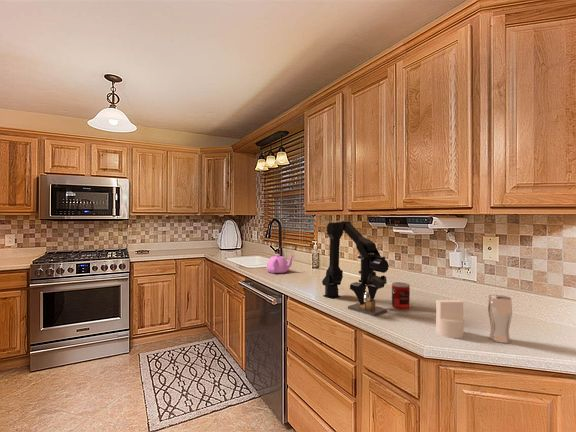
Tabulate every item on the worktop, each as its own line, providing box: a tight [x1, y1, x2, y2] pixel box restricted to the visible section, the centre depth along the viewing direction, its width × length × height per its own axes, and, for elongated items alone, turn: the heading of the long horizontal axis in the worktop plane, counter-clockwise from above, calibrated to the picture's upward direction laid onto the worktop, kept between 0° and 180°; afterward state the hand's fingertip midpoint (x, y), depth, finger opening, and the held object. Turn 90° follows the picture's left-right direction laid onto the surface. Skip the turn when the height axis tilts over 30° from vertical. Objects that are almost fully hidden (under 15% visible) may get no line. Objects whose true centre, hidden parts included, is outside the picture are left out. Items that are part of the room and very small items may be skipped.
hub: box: [358, 298, 376, 310], centre depth 140 cm, size 7×7×4 cm
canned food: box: [391, 281, 411, 310], centre depth 144 cm, size 8×8×11 cm
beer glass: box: [487, 294, 513, 344], centre depth 107 cm, size 7×7×15 cm
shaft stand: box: [347, 291, 388, 317], centre depth 140 cm, size 14×10×8 cm
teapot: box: [265, 253, 295, 274], centre depth 232 cm, size 22×22×14 cm
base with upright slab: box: [435, 299, 465, 339], centre depth 112 cm, size 9×9×12 cm
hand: (366, 303), depth 140 cm, fingers open, 8 cm apart
